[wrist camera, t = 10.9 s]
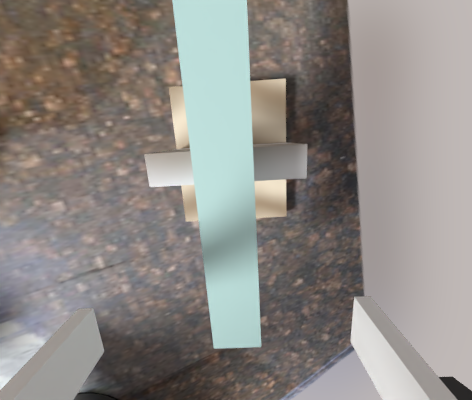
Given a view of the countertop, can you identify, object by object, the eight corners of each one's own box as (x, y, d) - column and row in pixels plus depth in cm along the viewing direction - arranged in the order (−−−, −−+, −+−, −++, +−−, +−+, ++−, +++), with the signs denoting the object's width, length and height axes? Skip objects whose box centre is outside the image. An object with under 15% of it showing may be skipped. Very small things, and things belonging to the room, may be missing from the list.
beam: (257, 306, 20) (261, 347, 16) (218, 308, 20) (213, 348, 17) (240, -64, 13) (240, -147, 9) (180, -58, 13) (156, -137, 9)
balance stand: (284, 212, 30) (311, 258, 19) (188, 217, 31) (156, 265, 19) (283, 81, 26) (317, 35, 14) (172, 89, 27) (119, 51, 15)
